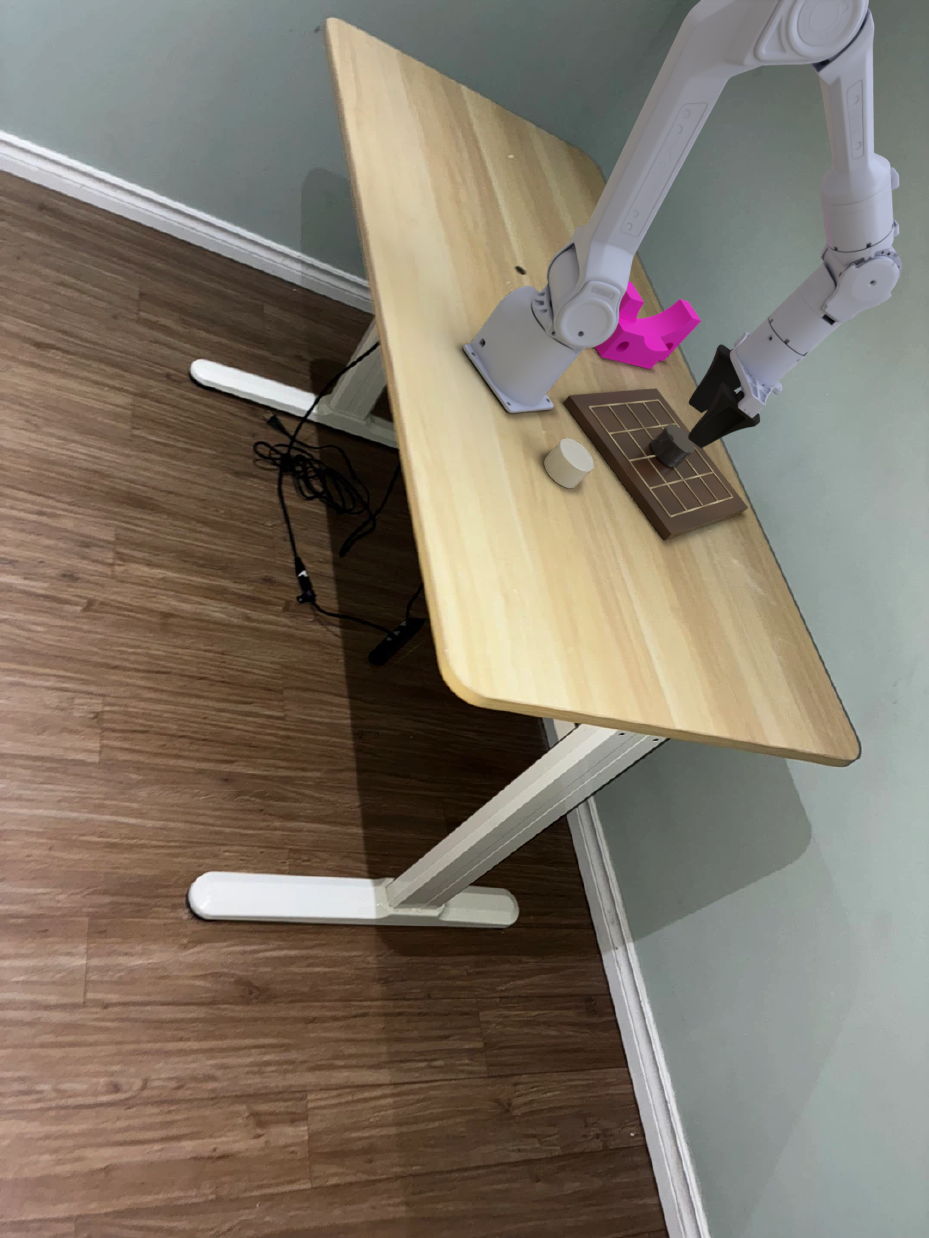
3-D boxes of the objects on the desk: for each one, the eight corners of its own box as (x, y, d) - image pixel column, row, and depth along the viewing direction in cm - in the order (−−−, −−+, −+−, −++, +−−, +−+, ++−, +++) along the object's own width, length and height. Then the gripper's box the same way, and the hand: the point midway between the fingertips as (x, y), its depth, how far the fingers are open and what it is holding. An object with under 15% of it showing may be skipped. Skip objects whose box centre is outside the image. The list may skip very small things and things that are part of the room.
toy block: (601, 357, 106) (639, 312, 101) (581, 322, 108) (617, 277, 103) (671, 374, 115) (709, 334, 110) (651, 342, 118) (688, 302, 113)
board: (562, 402, 94) (569, 394, 93) (650, 394, 108) (657, 387, 107) (664, 540, 89) (672, 533, 89) (741, 513, 104) (749, 507, 103)
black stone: (646, 448, 96) (663, 432, 94) (655, 434, 99) (671, 418, 97) (673, 473, 96) (690, 458, 95) (681, 459, 100) (698, 443, 98)
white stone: (536, 457, 84) (552, 439, 83) (561, 453, 88) (577, 436, 86) (560, 491, 83) (577, 473, 82) (584, 485, 87) (601, 468, 85)
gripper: (822, 392, 81) (721, 478, 90) (808, 327, 91) (719, 411, 100) (771, 351, 79) (673, 443, 89) (762, 289, 89) (676, 378, 99)
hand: (694, 424), depth 94 cm, fingers open, 7 cm apart
